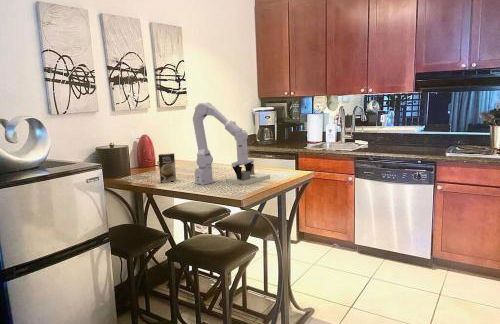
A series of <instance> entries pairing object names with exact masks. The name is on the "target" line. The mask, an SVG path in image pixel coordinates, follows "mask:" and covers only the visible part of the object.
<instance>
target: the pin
mask: <svg viewBox="0 0 500 324" xmlns="http://www.w3.org/2000/svg"><path fill="white" fill-rule="evenodd" d="M254 173H255V165H254V166H253V167H252V170H251V174H250V175H253V174H254Z"/></svg>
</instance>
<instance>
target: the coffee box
mask: <svg viewBox="0 0 500 324" xmlns="http://www.w3.org/2000/svg"><path fill="white" fill-rule="evenodd" d="M175 159H176V158H175V153H162V154H161V153H160V154H158V166H159V177H160V179H159V181H160V183H161V182H166V183H172V182H171V181H176V182H177V172H176V160H175Z"/></svg>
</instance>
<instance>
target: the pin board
mask: <svg viewBox="0 0 500 324" xmlns="http://www.w3.org/2000/svg"><path fill="white" fill-rule="evenodd" d="M250 176H251V179H248V180H237V176H236V175H234V176H230V177H226V178H225V182H226V183H229V184H236V185H242V186H247V185H249V184H254V183H258V182H261V181H265V180H269V179H271V174H268V173H267V174H266V173H259V172H254V174H253V175H250Z"/></svg>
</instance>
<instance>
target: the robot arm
mask: <svg viewBox="0 0 500 324" xmlns="http://www.w3.org/2000/svg"><path fill="white" fill-rule="evenodd" d="M207 116H211V117H214V118H215V119H216V120H218V121H219V122H220V123H221V124H223V126H224V129H225V130H226V131H227V132H228V133H229V134H230V135H231V136H233V137H234V140H235V142H236V154H237V155H236V156H237V157H236V159H237V161H235V162H232V163H231V168H232V169H233V171H234V173H235V176H237V179H241V171H243V170H242V169H243V166H244V169H245V171H250V174H251V170H252V167H253V166H254V167H255V164H254V163H255V161H254V159H249V153H248V151H249V150H248V141H247V140H248V136H249V135H248V132H247V131H246V130H245V129H244V130H243V128H242V127H240V126H238V125H237V122H236V121H233V120H228V119H227V117H226V116H225V115H223V114H222V112H221V111H219V110H218V108H216V106H214V105H213V104H212V103H210V102H200V103H198V104H197V105H196V106H195V107H194V112H193V116H192V124H193V128H194V134H195V139H196V140H195V141H196V145H197V152H196V153H197V154H196V165H197V166H198V167H197V168H196V169H195V170H194V180H195V181H194V184H196V185H202V186H204V185H209V184H212V183H216V182H217V181H216V180H214V179H213V178H214V177H213V166H212V164H213V162H214V157H213V155H212V154H211V151H210V150H209V148H208V143H207V138H206V132H205V127H204V120H205V119H206V117H207Z"/></svg>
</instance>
